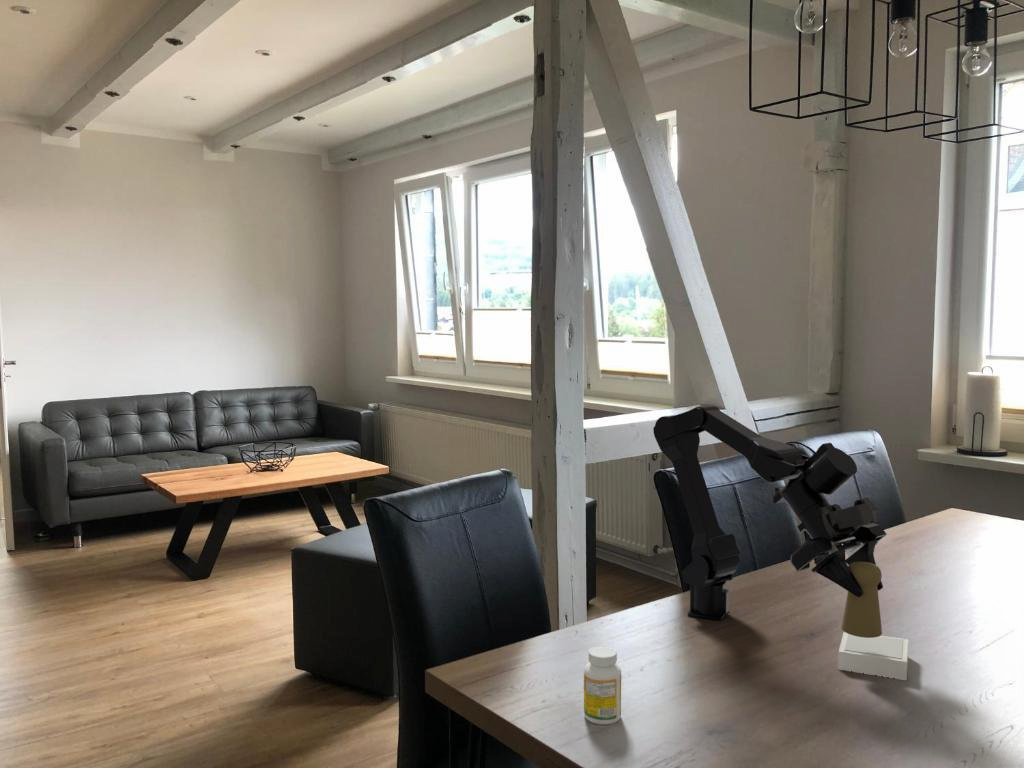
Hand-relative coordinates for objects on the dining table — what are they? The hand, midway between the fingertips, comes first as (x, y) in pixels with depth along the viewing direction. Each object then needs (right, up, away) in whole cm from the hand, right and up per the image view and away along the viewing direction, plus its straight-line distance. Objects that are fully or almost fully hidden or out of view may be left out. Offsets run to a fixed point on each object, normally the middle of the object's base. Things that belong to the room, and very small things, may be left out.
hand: (871, 592), depth 134 cm
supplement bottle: (-44, -15, -12) cm, 48 cm away
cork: (-1, -7, +2) cm, 7 cm away
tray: (+2, -13, +5) cm, 14 cm away
